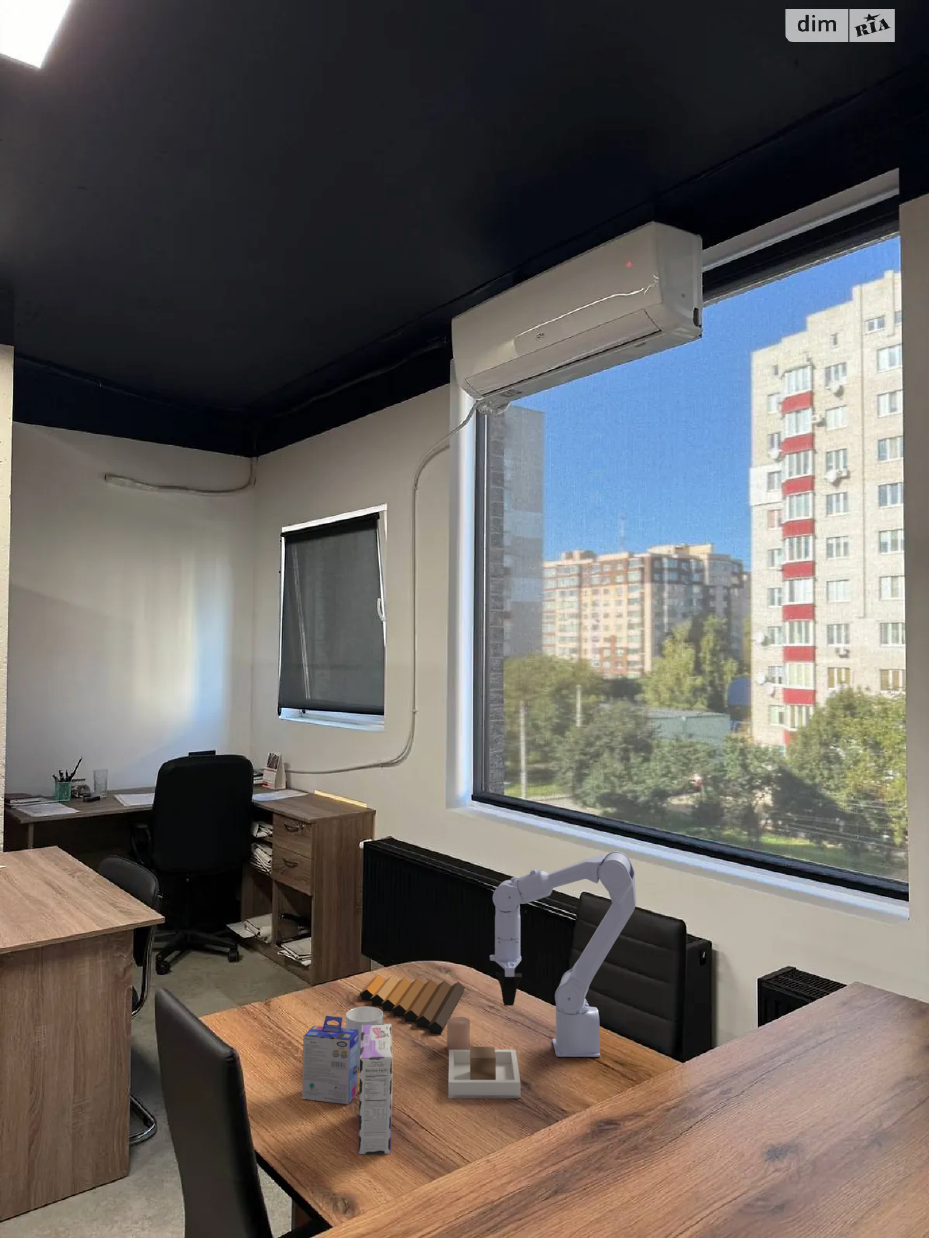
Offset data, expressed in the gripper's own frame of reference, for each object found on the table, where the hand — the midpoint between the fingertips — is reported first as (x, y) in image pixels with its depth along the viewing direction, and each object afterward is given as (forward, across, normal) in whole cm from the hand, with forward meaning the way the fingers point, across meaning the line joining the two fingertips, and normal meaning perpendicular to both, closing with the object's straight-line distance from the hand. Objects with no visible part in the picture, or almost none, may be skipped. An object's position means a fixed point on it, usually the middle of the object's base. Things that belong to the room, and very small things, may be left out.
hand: (507, 997), depth 189 cm
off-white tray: (+9, +18, -6) cm, 21 cm away
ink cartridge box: (+10, +24, -36) cm, 44 cm away
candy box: (+10, +37, -26) cm, 46 cm away
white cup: (+10, +10, -31) cm, 34 cm away
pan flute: (+10, -18, -24) cm, 32 cm away
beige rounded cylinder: (+10, +4, -11) cm, 15 cm away
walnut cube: (+9, +18, -6) cm, 21 cm away
